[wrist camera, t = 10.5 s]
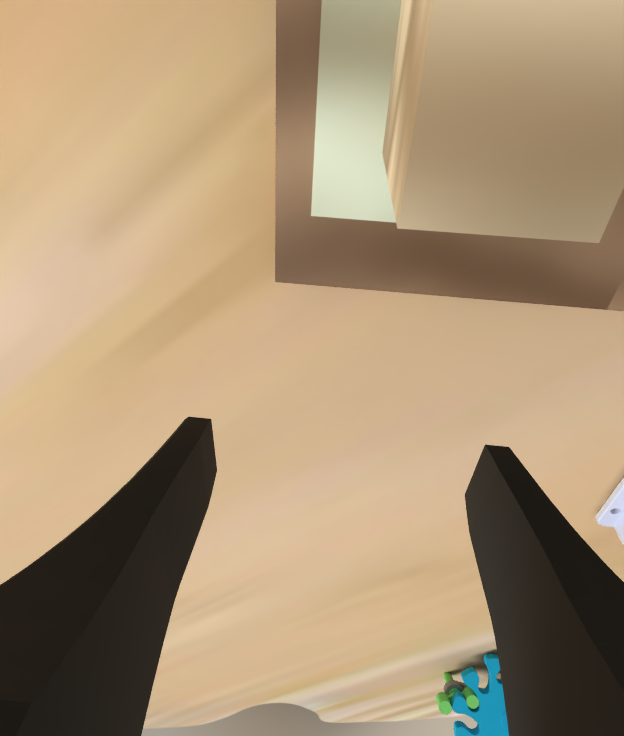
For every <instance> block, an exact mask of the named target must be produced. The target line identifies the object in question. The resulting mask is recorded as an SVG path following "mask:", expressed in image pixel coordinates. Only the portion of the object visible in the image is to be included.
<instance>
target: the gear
mask: <svg viewBox="0 0 624 736" xmlns="http://www.w3.org/2000/svg"><path fill="white" fill-rule="evenodd" d="M484 662H485V664H486V666H487V669H488V673H489V679H488V685H487V687H486V688H484V689H482V688H479V687H478V684H479V676H478V674H477V672H476V671H475V669H474V668H473V667H469V668H467V669H465V670H464V671H463V672H461V676H462V679H463V681H464V683H462V682H458V681H455V680H453V678H452V676H451V674H450V673H448V672H446V673H444V675H443V676H444V679H445V682H446V684H445V686H444V693H443V692H440V693H438V694H437V696H436V700H437V704H438V707H439V710H440V711H441V713H443V714H449V713H450V712H451V710H452V709H453V710H454V711H455V712H456V713H460V714H466V715H468V716H470V717H472V718H473V719H474V720H475V721H476V722H477V723H478V725H477V727H476V728H474V729H470V728H468V727H467V726H466V725H465V724H464V723H463V722H461V721H456V722H454V734H455V736H509V732H508V723H507V716H506V708H505V701H504V693H503V686H502V679H501V680H500V679H497V678H496V676H497V674H498V672H499V671H500V666H499V659H498V655H496V654H485V655H484Z"/></svg>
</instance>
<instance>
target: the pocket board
mask: <svg viewBox="0 0 624 736" xmlns="http://www.w3.org/2000/svg"><path fill="white" fill-rule="evenodd" d="M401 2H402V0H276V245H275V282H283V283H295V284H306V285H318V286H330V287H342V288H354V289H366V290H378V291H390V292H402V293H414V294H426V295H438V296H450V297H461V298H473V299H485V300H497V301H509V302H521V303H533V304H545V305H557V306H569V307H581V308H593V309H604V310H616V311H624V188H623V190H622V193H621V195H620V197H619V199H618V202H617V204H616V206H615V208H614V211H613V213H612V215H611V217H610V220H609V222H608V224H607V226H606V229H605V231H604V233H603V235H602V238H601V240H600V242H599V243H590V242H576V241H562V240H549V239H535V238H521V237H507V236H493V235H480V234H466V233H452V232H438V231H425V230H411V229H397V224H396V219H395V214H394V209H393V204H392V199H391V194H390V189H389V184H388V179H387V174H386V169H385V164H384V159H383V154H382V151H383V143H384V135H385V127H386V119H387V111H388V104H389V96H390V88H391V80H392V72H393V65H394V57H395V49H396V41H397V33H398V25H399V18H400V10H401Z"/></svg>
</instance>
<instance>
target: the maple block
mask: <svg viewBox="0 0 624 736" xmlns="http://www.w3.org/2000/svg"><path fill="white" fill-rule="evenodd" d="M382 154H383V159H384V164H385V169H386V174H387V179H388V184H389V189H390V194H391V199H392V204H393V209H394V214H395V219H396V224H397V229H411V230H425V231H438V232H452V233H466V234H480V235H493V236H507V237H521V238H535V239H549V240H562V241H576V242H590V243H599V242H600V240H601V238H602V235H603V233H604V231H605V229H606V226H607V224H608V222H609V220H610V217H611V215H612V213H613V211H614V208H615V206H616V204H617V202H618V199H619V197H620V195H621V193H622V190H623V188H624V0H402V2H401V10H400V18H399V25H398V33H397V41H396V49H395V57H394V65H393V72H392V80H391V88H390V96H389V104H388V111H387V119H386V127H385V135H384V143H383V151H382Z"/></svg>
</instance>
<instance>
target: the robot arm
mask: <svg viewBox="0 0 624 736" xmlns="http://www.w3.org/2000/svg"><path fill="white" fill-rule="evenodd" d="M216 472H217V466H216V458H215V449H214V440H213V431H212V422H211V419H206V418H195V417H188V418H186V419H185V420H184V421H183V422H182V424H181V425H180V426H179V427H178V428H177V429H176V431H175V432H174V433H173V434H172V435H171V436H170V438H169V439H168V440H167V441H166V442H165V443H164V444H163V446H162V447H161V448H160V449H159V450H158V451H157V452H156V453H155V454H154V456H153V457H152V458H151V459H150V460H149V461H148V462H147V463H146V464H145V465H144V466H143V467H142V468H141V469H140V470H139V471H138V472H137V473H136V474H135V476H134V477H133V478H132V479H131V480H130V481H129V482H128V483H127V484H126V485H124V486H123V487H122V488H121V489H120V490H119V491H118V492H117V493H116V494H115V495H114V496H113V497H112V498H111V499H110V500H109V501H108V502H107V503H106V504H105V505H103V506H102V507H101V508H100V509H99V510H98V511H97V512H96V513H95V514H93V515H92V516H91V517H90V518H89V519H88V520H86V521H85V522H84V523H83V524H82V525H81V526H79V527H78V528H77V529H76V530H75V531H73V532H72V533H71V534H70V535H68V536H67V537H66V538H65V539H63V540H62V541H61V542H59V543H58V544H57V545H56V546H54V547H53V548H52V549H50V550H49V551H48V552H46V553H45V554H44V555H43V556H41V557H40V558H39V559H37V560H36V561H34V562H33V563H32V564H30V565H29V566H28V567H26V568H25V569H23V570H22V571H20V572H19V573H18V574H16V575H15V576H13V577H12V578H10V579H9V580H7V581H6V582H4V583H3V584H1V585H0V736H141V734H142V729H143V725H144V721H145V716H146V712H147V708H148V704H149V699H150V695H151V691H152V686H153V682H154V678H155V674H156V670H157V666H158V662H159V658H160V654H161V650H162V646H163V642H164V638H165V635H166V631H167V627H168V623H169V619H170V616H171V612H172V608H173V604H174V601H175V598H176V595H177V592H178V589H179V585H180V583H181V580H182V577H183V574H184V572H185V569H186V566H187V564H188V561H189V558H190V555H191V553H192V550H193V547H194V545H195V542H196V539H197V536H198V534H199V531H200V528H201V525H202V523H203V520H204V517H205V514H206V511H207V509H208V506H209V502H210V498H211V494H212V490H213V485H214V481H215V477H216ZM465 500H466V509H467V518H468V525H469V532H470V537H471V541H472V545H473V549H474V553H475V557H476V561H477V565H478V569H479V573H480V577H481V581H482V585H483V589H484V592H485V596H486V600H487V604H488V608H489V612H490V616H491V620H492V625H493V630H494V634H495V640H496V646H497V653H498V659H499V666H500V672H501V679H502V686H503V693H504V701H505V708H506V716H507V723H508V732H509V736H624V582H623V581H622V580H621V579H620V578H619V577H618V576H617V575H616V574H615V573H614V572H613V571H612V570H611V569H610V568H609V567H608V566H607V565H606V564H605V563H604V562H603V561H602V560H601V559H600V557H599V556H598V555H597V554H596V553H595V552H594V551H593V550H592V549H591V548H590V546H589V545H588V544H587V543H586V542H585V541H584V540H583V539H582V538H581V536H580V535H579V534H578V533H577V532H576V531H575V530H574V528H573V527H572V526H571V525H570V524H569V522H568V521H567V520H566V519H565V518H564V516H563V515H562V514H561V513H560V512H559V510H558V509H557V508H556V507H555V505H554V504H553V503H552V502H551V501H550V499H549V498H548V497H547V496H546V494H545V493H544V492H543V490H542V489H541V488H540V487H539V485H538V484H537V483H536V481H535V480H534V479H533V478H532V476H531V475H530V474H529V472H528V471H527V470H526V468H525V467H524V466H523V465H522V463H521V462H520V461H519V459H518V458H517V457H516V456H515V454H514V453H513V452H512V450H511V449H510V448H509V447H503V446H492V445H485V446H484V449H483V451H482V454H481V456H480V459H479V461H478V464H477V466H476V468H475V471H474V473H473V476H472V478H471V481H470V483H469V486H468V488H467V491H466V493H465ZM595 518H596V520H597V522H598V524H599V525H602V526H609V527H614V528H615V530H616V532H617V534H618V536H619V538H620V540H621V542H622V544H623V546H624V477H623V479H622V480H621V482H620V483H619V484H618V486H617V487H616V489H615V490H614V491H613V493H612V494H611V496H610V497H609V498H608V500H607V501H606V503H605V504H604V505H603V507H602V508H601V509H600V511H599V512H598V514H597V515H596V517H595Z"/></svg>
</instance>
